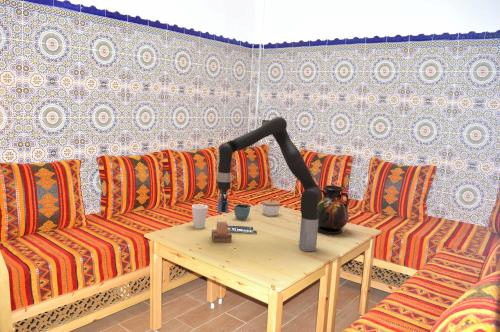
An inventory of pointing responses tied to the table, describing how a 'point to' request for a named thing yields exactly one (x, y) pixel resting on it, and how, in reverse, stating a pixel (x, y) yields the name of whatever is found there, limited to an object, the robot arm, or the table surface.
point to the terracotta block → (221, 227)
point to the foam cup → (199, 215)
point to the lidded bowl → (270, 207)
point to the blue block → (221, 206)
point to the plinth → (221, 237)
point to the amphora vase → (332, 211)
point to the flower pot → (242, 211)
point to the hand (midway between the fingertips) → (222, 210)
